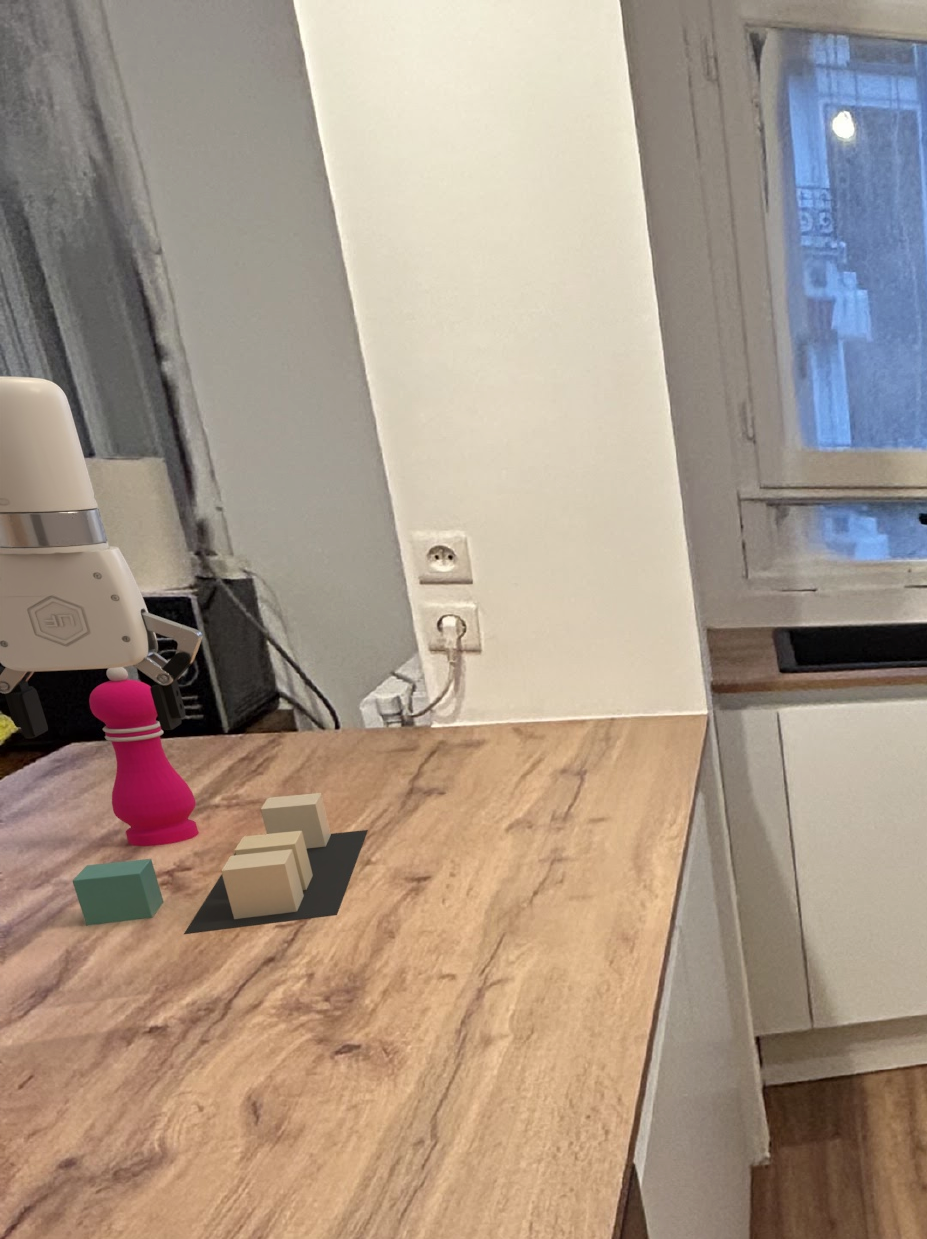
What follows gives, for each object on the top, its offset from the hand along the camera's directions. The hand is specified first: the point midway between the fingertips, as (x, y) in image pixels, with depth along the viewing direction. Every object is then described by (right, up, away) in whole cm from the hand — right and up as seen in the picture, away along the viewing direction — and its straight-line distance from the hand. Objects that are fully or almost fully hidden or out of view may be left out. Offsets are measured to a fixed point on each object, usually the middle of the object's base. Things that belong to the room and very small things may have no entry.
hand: (105, 730), depth 120 cm
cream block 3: (+5, -16, +13) cm, 21 cm away
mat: (0, -13, +22) cm, 25 cm away
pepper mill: (-23, -9, +34) cm, 41 cm away
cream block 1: (-6, -9, +32) cm, 34 cm away
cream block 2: (+1, -14, +19) cm, 23 cm away
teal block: (-8, -17, +11) cm, 22 cm away
